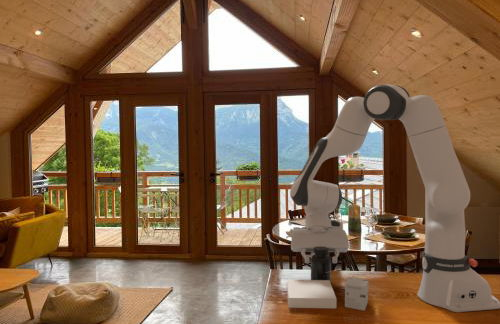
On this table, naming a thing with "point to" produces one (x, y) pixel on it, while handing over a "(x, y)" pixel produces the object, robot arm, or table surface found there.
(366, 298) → the skincare box
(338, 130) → the robot arm
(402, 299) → the table surface
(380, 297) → the table surface
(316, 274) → the supplement bottle
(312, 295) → the stand
